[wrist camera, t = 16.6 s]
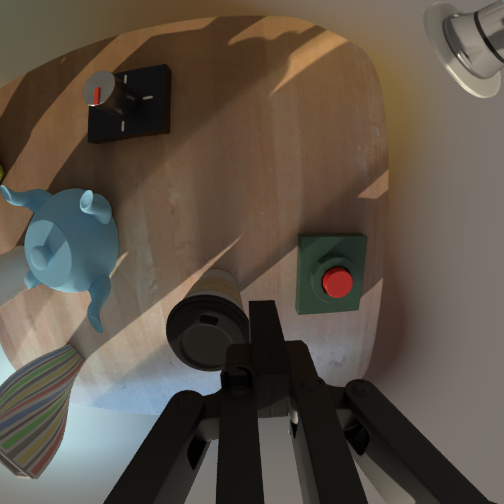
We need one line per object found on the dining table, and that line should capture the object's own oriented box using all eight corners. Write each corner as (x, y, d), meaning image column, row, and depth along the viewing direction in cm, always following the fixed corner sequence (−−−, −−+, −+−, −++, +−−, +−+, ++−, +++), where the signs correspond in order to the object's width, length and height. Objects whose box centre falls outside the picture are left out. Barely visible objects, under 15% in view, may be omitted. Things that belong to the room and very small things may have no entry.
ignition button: (349, 266, 38) (354, 270, 36) (347, 292, 39) (351, 297, 37) (323, 267, 38) (326, 271, 36) (321, 293, 39) (324, 298, 37)
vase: (111, 368, 46) (50, 489, 17) (80, 388, 48) (25, 486, 19) (64, 317, 43) (-28, 419, 14) (39, 344, 44) (-35, 430, 16)
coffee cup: (236, 249, 40) (234, 291, 26) (256, 305, 43) (263, 365, 28) (177, 268, 41) (147, 316, 26) (200, 321, 43) (185, 383, 29)
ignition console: (361, 233, 40) (372, 239, 37) (353, 304, 44) (362, 315, 40) (298, 233, 40) (304, 239, 36) (295, 308, 43) (300, 320, 39)
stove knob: (111, 91, 30) (83, 75, 22) (139, 85, 30) (115, 65, 22) (109, 119, 31) (79, 108, 24) (138, 113, 32) (112, 100, 24)
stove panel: (171, 70, 33) (166, 63, 30) (169, 133, 35) (163, 130, 32) (99, 84, 32) (90, 79, 29) (96, 144, 35) (86, 142, 32)
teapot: (132, 180, 37) (91, 184, 25) (131, 297, 42) (100, 337, 30) (46, 179, 36) (-2, 185, 24) (51, 283, 41) (12, 311, 29)
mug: (16, 296, 41) (-18, 321, 30) (0, 260, 39) (-38, 279, 27) (45, 279, 41) (6, 306, 29) (27, 238, 38) (-16, 256, 27)
